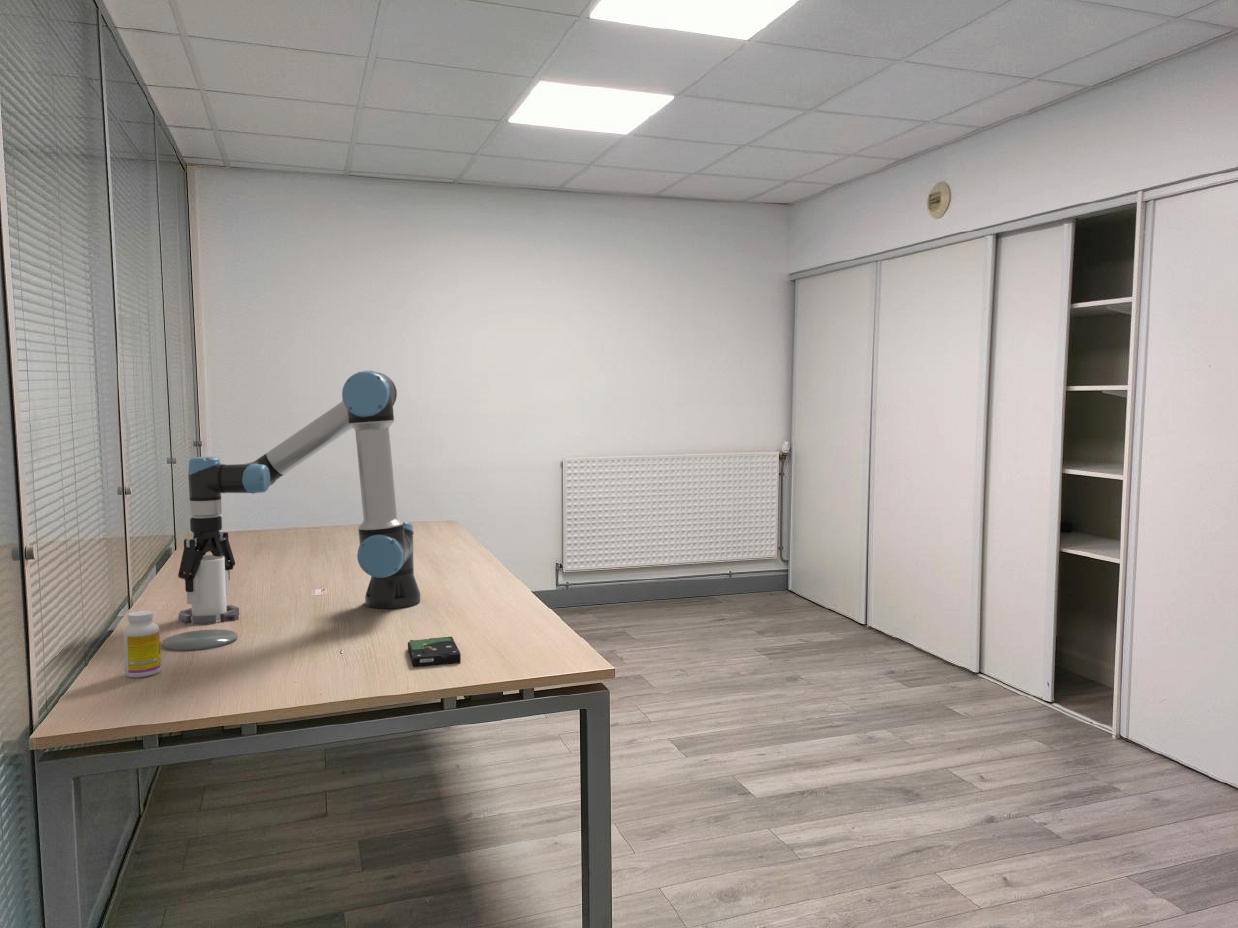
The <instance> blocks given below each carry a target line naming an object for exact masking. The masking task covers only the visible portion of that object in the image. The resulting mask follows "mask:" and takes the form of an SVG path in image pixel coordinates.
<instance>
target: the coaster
mask: <svg viewBox="0 0 1238 928" xmlns="http://www.w3.org/2000/svg"><path fill="white" fill-rule="evenodd" d="M237 640H238V633H237V632H235V631H233V630H229V629H201V630H192V631H187V632H182V633H176V634H174V635H171V636H169V637H166V638H164V639H163V640H162V643H161V644H162V648H164V649H165V650H167V651H176V652H192V651H194V652H195V651H205V650H210V649H216V648H221V647H224V646H227V645H230V644H232V643H234V642H236V641H237Z"/></svg>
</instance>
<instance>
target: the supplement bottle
mask: <svg viewBox="0 0 1238 928" xmlns="http://www.w3.org/2000/svg"><path fill="white" fill-rule="evenodd" d="M127 620H128V622H129V623H128V624H129V625H127V626H125V628H123V632H122V638H123V659H124V663H123V664H124V675H125V676H126V677H128V678H132V679H133V678H136V679H138V678H145V677H151V676H153V675H156V674H159V672H160V671H161V669H162V667H161V666H162V665H161V664H162V661H161V641H160V639H161V638H160V627H159V625H158V624H157V623H155V622H153V620H154V611H152V610H139V611H132V612H129V613H128V614H127Z"/></svg>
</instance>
